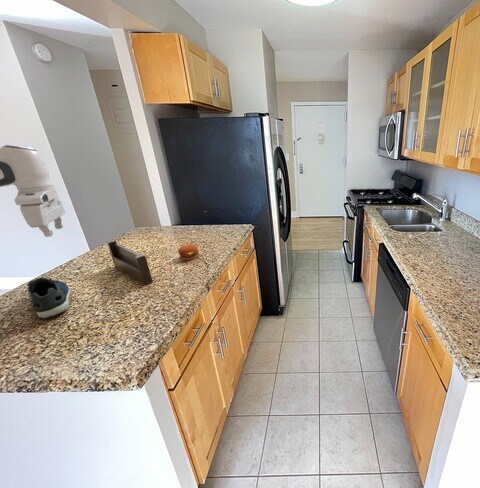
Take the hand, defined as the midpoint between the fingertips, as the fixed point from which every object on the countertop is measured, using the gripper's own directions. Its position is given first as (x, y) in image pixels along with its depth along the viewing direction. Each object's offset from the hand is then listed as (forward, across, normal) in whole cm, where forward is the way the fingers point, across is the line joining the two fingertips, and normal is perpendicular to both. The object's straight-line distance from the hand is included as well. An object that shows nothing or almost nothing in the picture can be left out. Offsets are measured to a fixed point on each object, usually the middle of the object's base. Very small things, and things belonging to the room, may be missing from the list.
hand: (54, 232), depth 96 cm
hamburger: (+26, -18, +41) cm, 52 cm away
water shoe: (+27, +3, -7) cm, 28 cm away
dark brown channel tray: (+26, -9, +16) cm, 32 cm away
